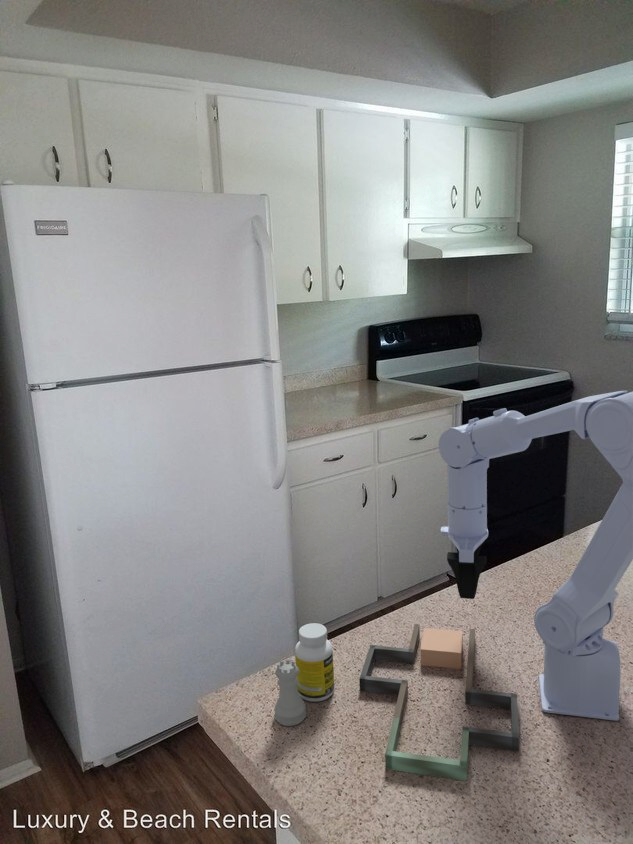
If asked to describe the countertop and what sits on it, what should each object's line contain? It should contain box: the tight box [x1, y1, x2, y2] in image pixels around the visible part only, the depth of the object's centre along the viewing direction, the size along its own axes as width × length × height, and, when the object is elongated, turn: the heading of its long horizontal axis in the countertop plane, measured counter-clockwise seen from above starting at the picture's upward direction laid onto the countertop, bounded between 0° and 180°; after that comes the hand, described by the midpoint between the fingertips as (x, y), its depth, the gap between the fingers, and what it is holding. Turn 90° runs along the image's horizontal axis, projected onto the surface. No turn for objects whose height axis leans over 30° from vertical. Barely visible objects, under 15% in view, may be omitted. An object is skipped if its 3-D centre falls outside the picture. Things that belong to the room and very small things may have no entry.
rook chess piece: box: [273, 659, 308, 727], centre depth 88 cm, size 4×4×8 cm
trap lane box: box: [358, 623, 520, 782], centre depth 91 cm, size 22×30×2 cm
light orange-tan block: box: [419, 627, 464, 670], centre depth 100 cm, size 6×6×3 cm
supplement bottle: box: [294, 622, 335, 703], centre depth 92 cm, size 5×5×10 cm
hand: (467, 585), depth 100 cm, fingers open, 7 cm apart
